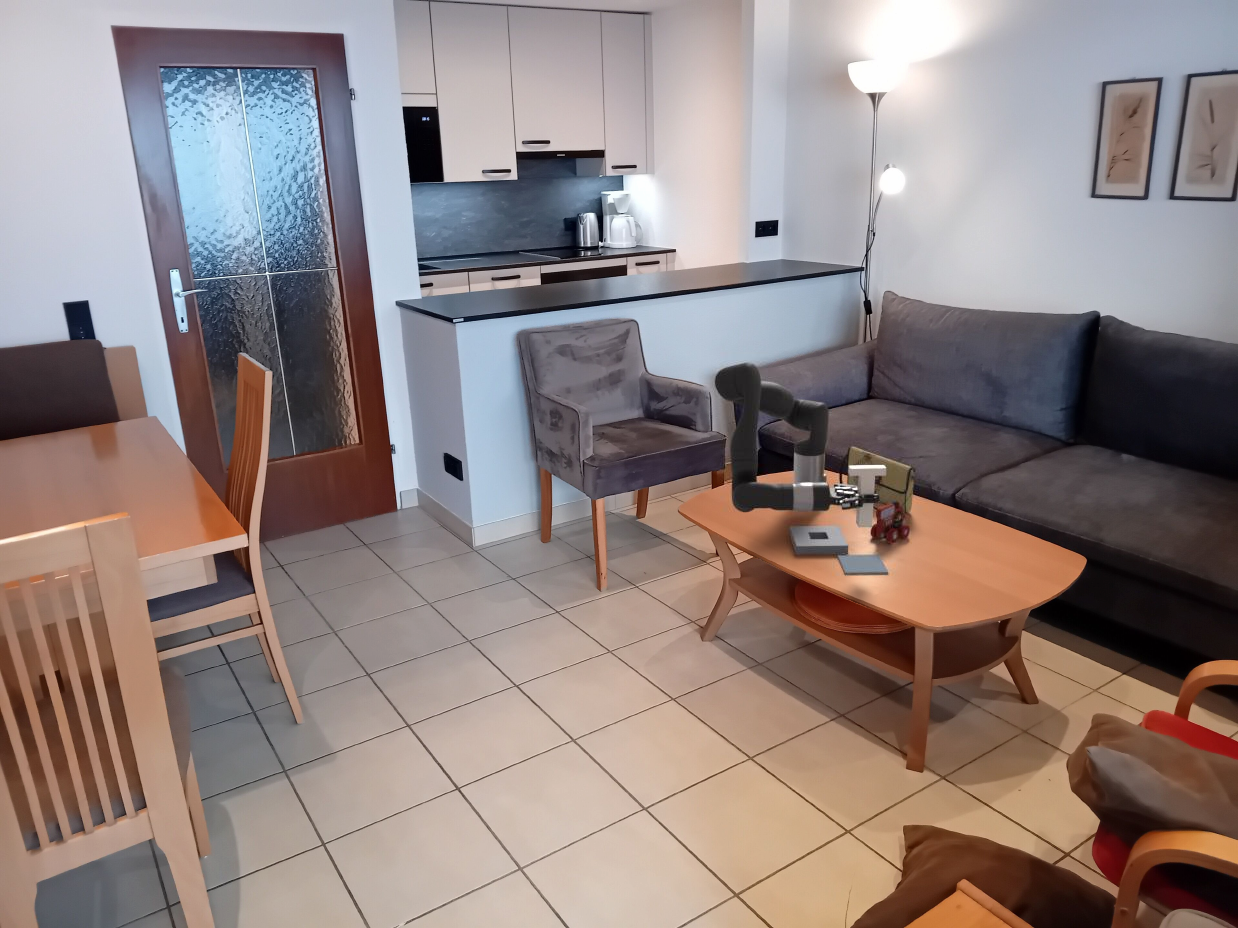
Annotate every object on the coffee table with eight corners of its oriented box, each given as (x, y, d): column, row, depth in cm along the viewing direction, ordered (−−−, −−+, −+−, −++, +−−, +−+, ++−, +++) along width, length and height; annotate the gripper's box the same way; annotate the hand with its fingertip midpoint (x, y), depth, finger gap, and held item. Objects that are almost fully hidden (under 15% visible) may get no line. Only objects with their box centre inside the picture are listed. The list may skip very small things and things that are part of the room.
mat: (845, 574, 228) (845, 572, 228) (837, 556, 239) (837, 554, 239) (888, 573, 228) (888, 571, 227) (878, 556, 238) (878, 554, 238)
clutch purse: (833, 491, 287) (834, 447, 282) (849, 487, 290) (851, 443, 285) (900, 520, 262) (903, 472, 257) (917, 515, 265) (921, 468, 260)
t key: (847, 527, 228) (850, 469, 223) (845, 522, 231) (848, 464, 226) (882, 527, 228) (886, 468, 223) (879, 522, 231) (883, 464, 226)
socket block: (796, 554, 241) (796, 546, 240) (789, 534, 254) (790, 526, 254) (848, 553, 240) (848, 545, 239) (838, 533, 253) (839, 525, 253)
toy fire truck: (913, 535, 251) (916, 501, 247) (886, 547, 244) (889, 512, 240) (892, 528, 256) (895, 494, 253) (866, 539, 249) (868, 505, 245)
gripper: (814, 492, 220) (884, 491, 219) (806, 474, 233) (872, 473, 232) (813, 520, 222) (882, 519, 221) (805, 500, 236) (870, 499, 235)
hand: (876, 495), depth 227 cm, fingers closed on t key, 3 cm apart
